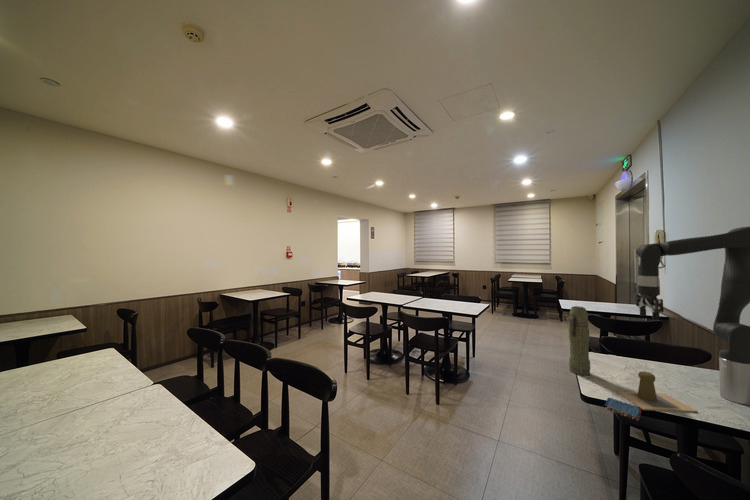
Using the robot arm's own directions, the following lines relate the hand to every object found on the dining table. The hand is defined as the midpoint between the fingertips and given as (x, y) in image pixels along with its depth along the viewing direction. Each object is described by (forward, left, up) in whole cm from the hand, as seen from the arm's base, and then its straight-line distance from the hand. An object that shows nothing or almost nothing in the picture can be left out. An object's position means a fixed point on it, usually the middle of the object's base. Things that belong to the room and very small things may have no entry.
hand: (649, 317), depth 128 cm
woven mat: (+31, +24, -33) cm, 51 cm away
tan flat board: (+13, +17, -32) cm, 39 cm away
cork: (+14, +15, -32) cm, 38 cm away
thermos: (+26, -10, -32) cm, 43 cm away
